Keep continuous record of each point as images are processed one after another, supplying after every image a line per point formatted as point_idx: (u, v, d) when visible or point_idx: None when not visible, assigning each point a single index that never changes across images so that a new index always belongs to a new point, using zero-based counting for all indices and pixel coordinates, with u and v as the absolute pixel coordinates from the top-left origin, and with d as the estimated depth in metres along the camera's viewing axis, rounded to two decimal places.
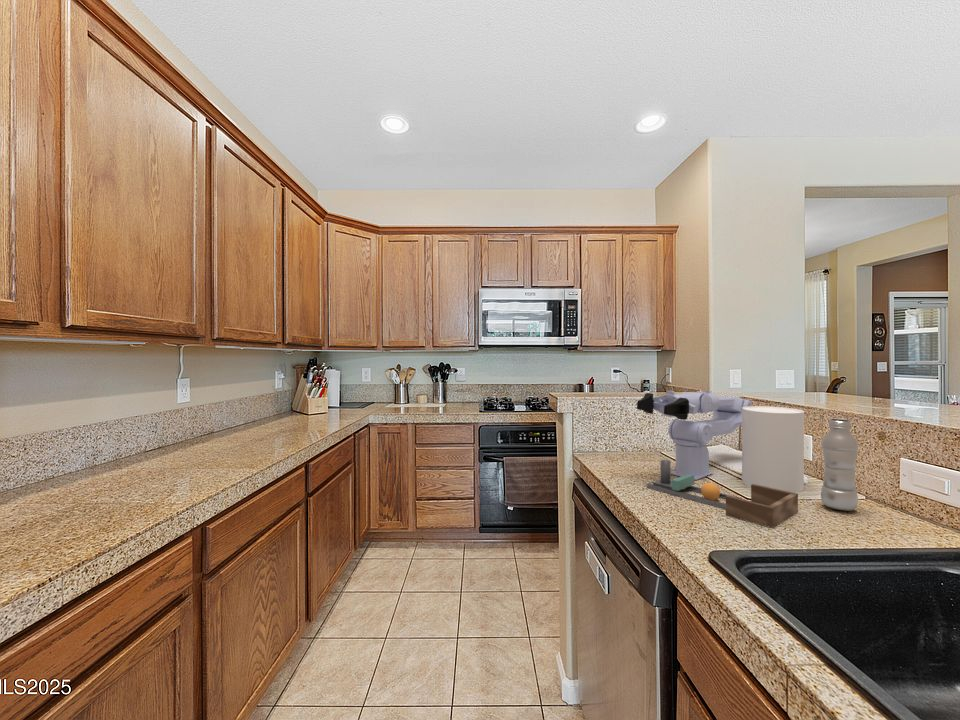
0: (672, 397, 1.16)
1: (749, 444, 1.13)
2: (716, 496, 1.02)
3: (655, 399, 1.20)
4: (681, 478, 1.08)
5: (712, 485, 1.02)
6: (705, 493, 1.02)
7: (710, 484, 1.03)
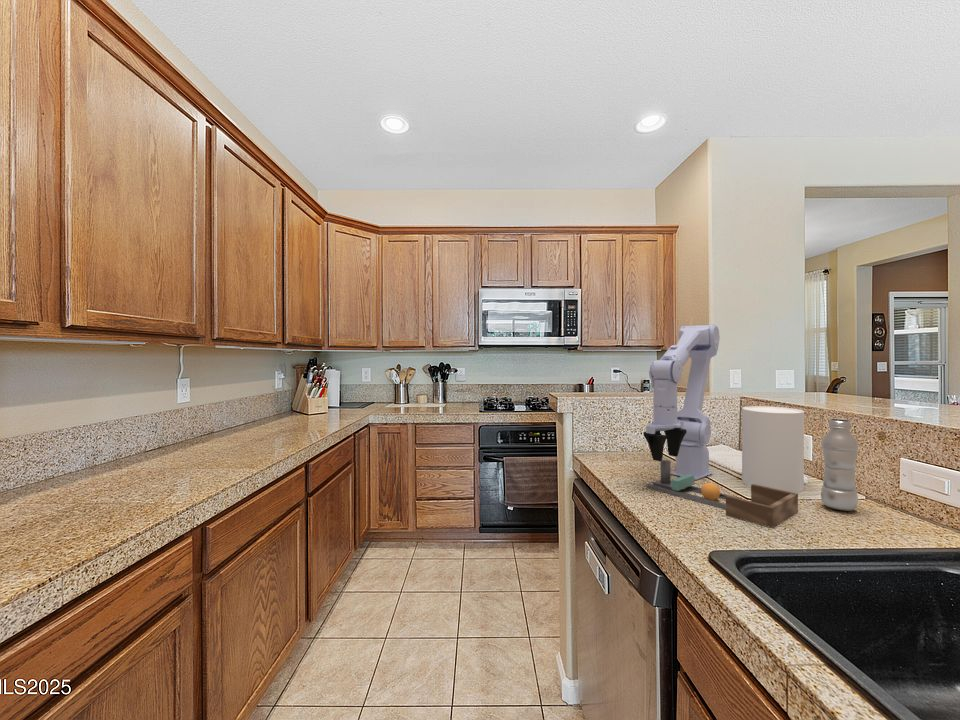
0: None
1: (749, 444, 1.13)
2: (716, 496, 1.02)
3: None
4: (681, 478, 1.08)
5: (712, 485, 1.02)
6: (705, 493, 1.02)
7: (710, 484, 1.03)
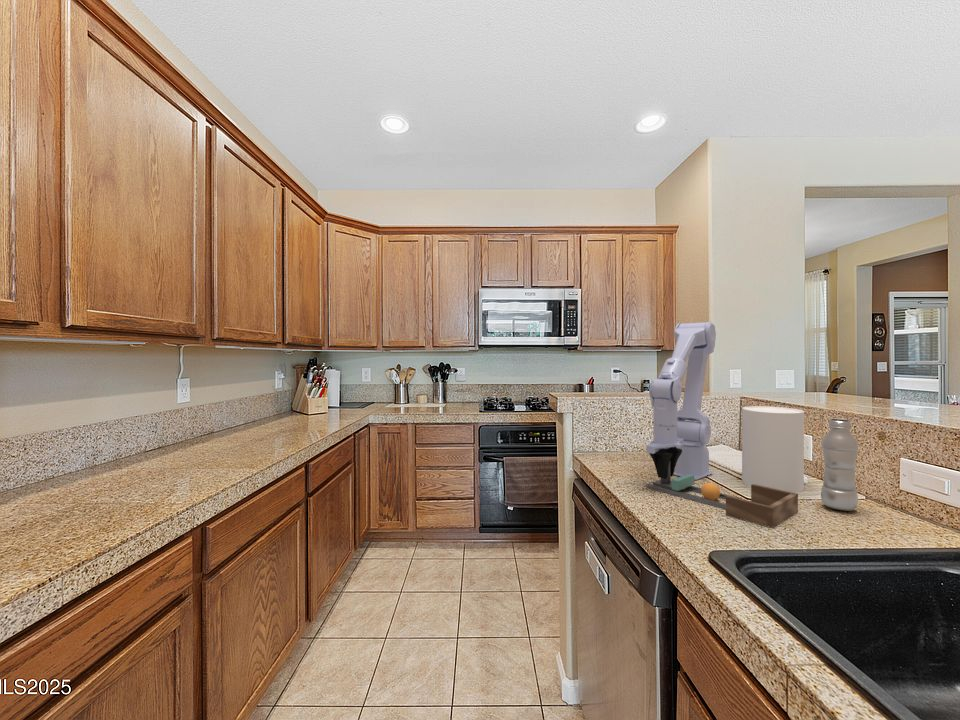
0: None
1: (749, 444, 1.13)
2: (716, 496, 1.02)
3: None
4: (681, 478, 1.08)
5: (712, 485, 1.02)
6: (705, 493, 1.02)
7: (710, 484, 1.03)
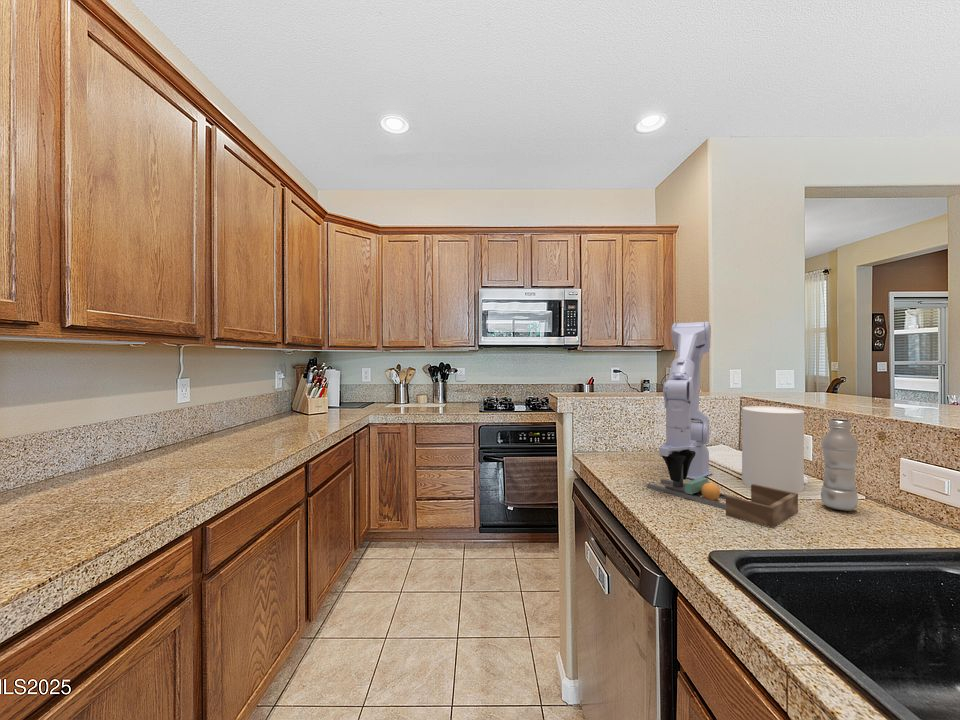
0: None
1: (749, 444, 1.13)
2: (716, 496, 1.02)
3: None
4: (695, 481, 1.05)
5: (712, 485, 1.02)
6: (705, 493, 1.02)
7: (710, 484, 1.03)
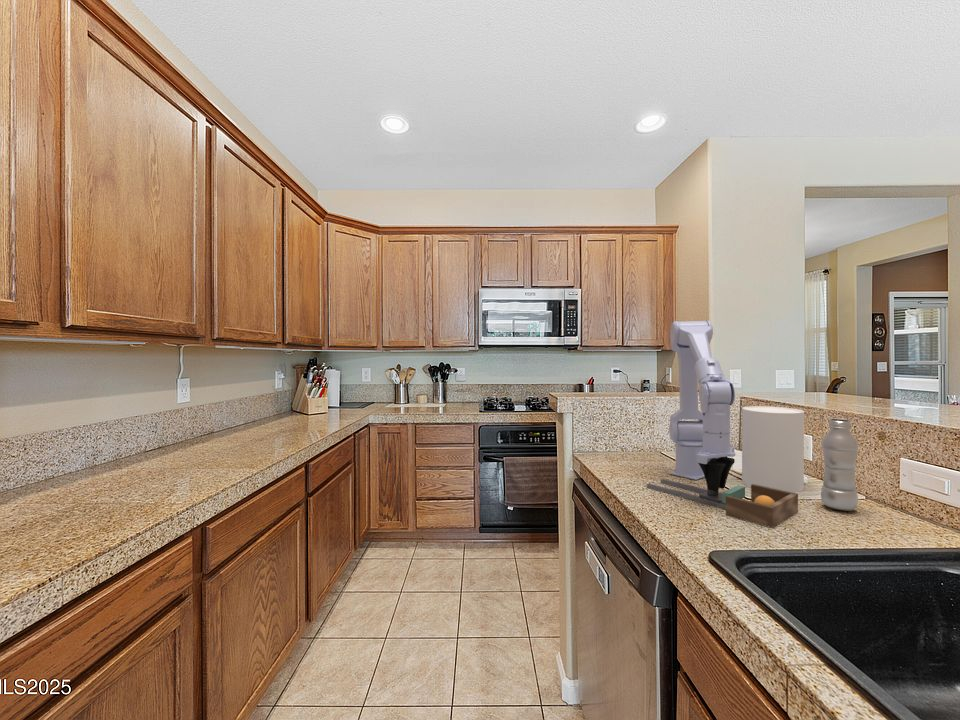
0: None
1: (749, 444, 1.13)
2: None
3: None
4: (732, 490, 0.98)
5: (761, 496, 0.94)
6: None
7: (759, 496, 0.94)
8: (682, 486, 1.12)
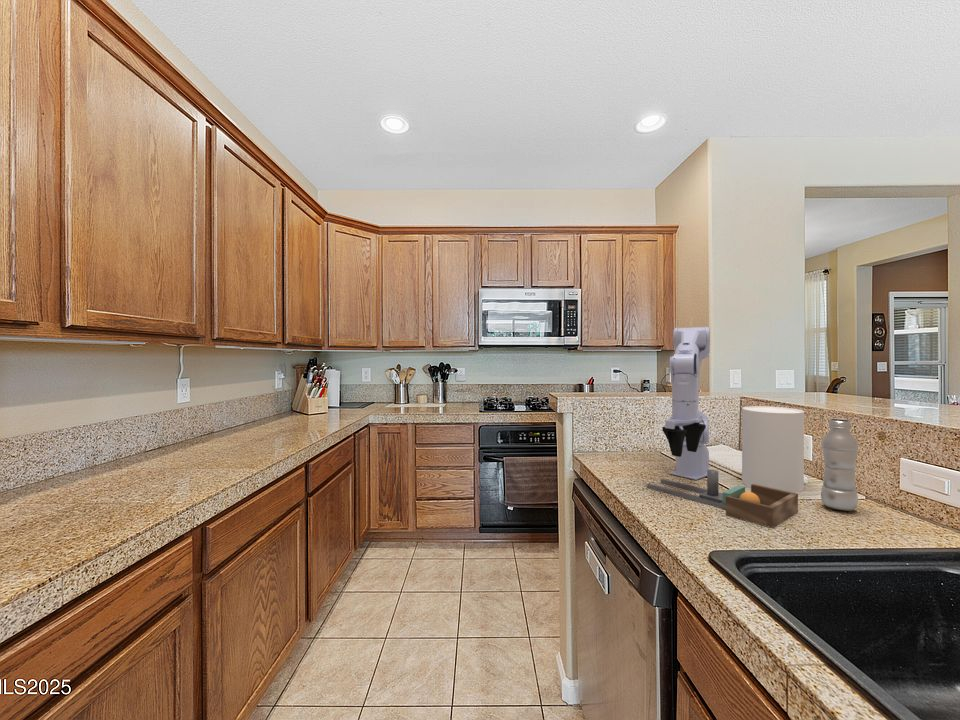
0: None
1: (749, 444, 1.13)
2: (746, 493, 0.96)
3: None
4: (732, 490, 0.98)
5: None
6: None
7: None
8: (682, 486, 1.12)
